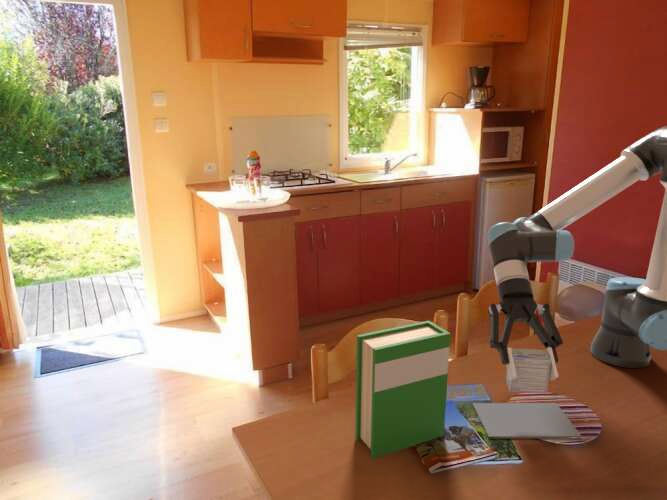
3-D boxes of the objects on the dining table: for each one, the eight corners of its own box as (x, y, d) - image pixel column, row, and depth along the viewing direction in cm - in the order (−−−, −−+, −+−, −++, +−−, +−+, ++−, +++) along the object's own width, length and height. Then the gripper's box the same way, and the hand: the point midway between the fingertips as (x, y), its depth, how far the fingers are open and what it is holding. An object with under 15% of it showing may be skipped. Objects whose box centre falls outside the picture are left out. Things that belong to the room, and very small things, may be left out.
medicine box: (540, 384, 117) (545, 349, 115) (546, 394, 113) (551, 358, 111) (505, 382, 118) (508, 347, 116) (509, 392, 114) (513, 356, 112)
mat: (556, 404, 124) (556, 403, 124) (581, 438, 112) (581, 436, 111) (472, 405, 124) (472, 403, 124) (488, 438, 111) (488, 436, 111)
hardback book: (372, 458, 105) (375, 350, 99) (355, 438, 111) (356, 335, 105) (443, 436, 112) (450, 333, 106) (423, 418, 119) (428, 320, 112)
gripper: (550, 290, 126) (574, 382, 115) (464, 290, 125) (480, 384, 114) (563, 276, 120) (589, 373, 109) (473, 276, 119) (490, 374, 108)
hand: (533, 378), depth 111 cm, fingers closed on medicine box, 8 cm apart
